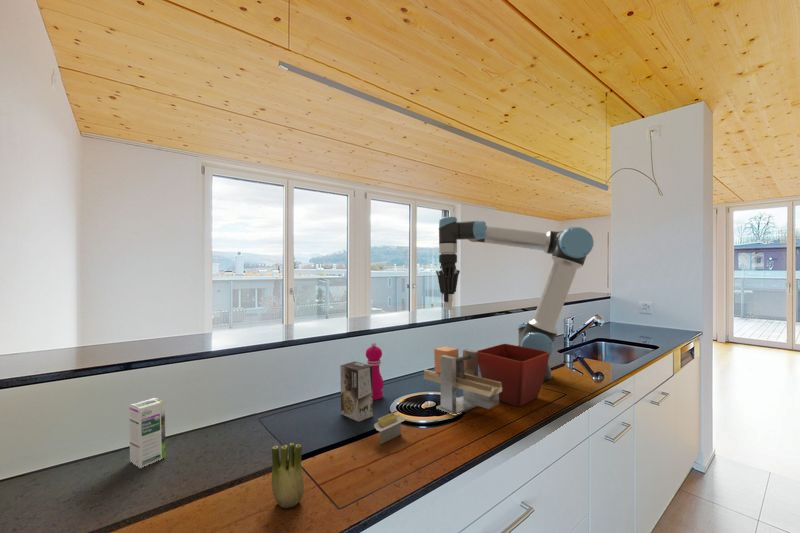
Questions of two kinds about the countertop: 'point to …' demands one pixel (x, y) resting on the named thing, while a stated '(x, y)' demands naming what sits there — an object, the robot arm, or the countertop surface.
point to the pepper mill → (375, 370)
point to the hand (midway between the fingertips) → (448, 309)
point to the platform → (389, 427)
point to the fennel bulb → (287, 476)
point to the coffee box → (356, 391)
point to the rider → (444, 351)
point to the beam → (472, 384)
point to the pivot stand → (449, 383)
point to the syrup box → (147, 432)
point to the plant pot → (514, 371)
